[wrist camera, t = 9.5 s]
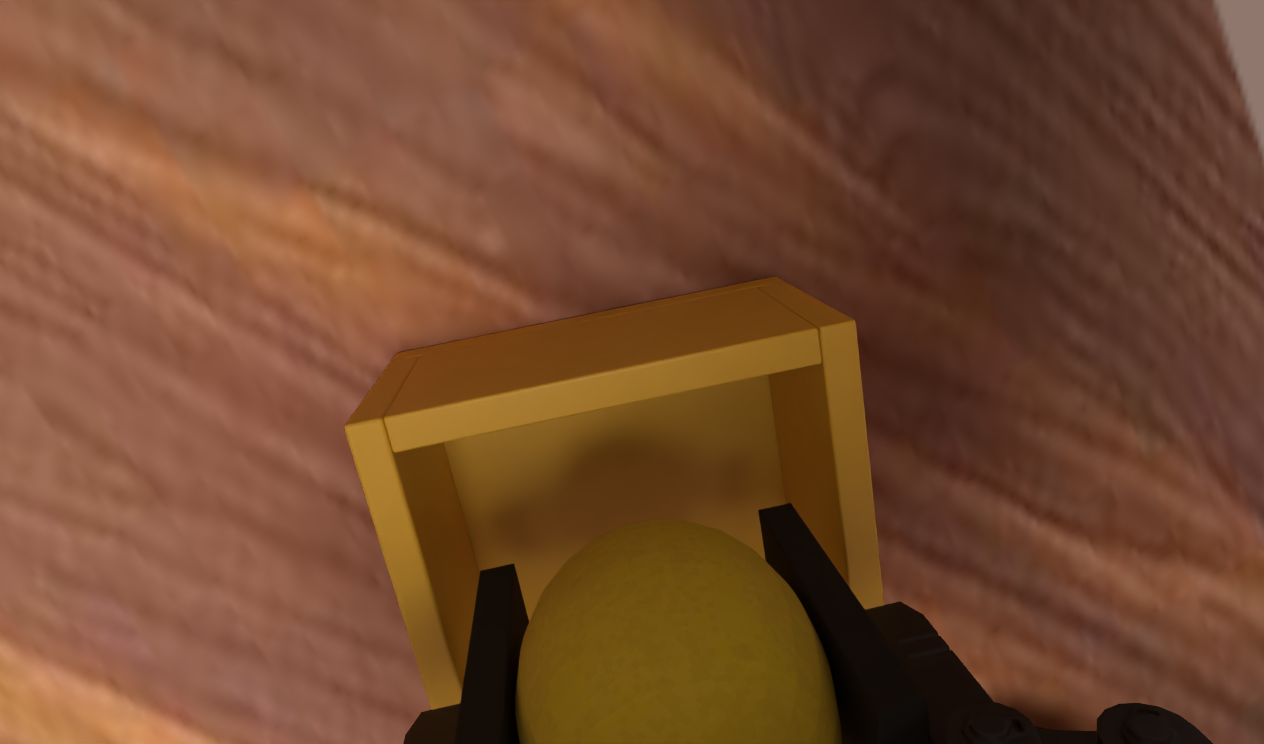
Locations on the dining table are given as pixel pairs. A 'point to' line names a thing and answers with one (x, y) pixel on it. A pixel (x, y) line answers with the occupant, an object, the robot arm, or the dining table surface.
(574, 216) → the dining table surface
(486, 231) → the dining table surface
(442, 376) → the yellow bin
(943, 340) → the dining table surface
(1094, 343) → the dining table surface
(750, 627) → the lemon
